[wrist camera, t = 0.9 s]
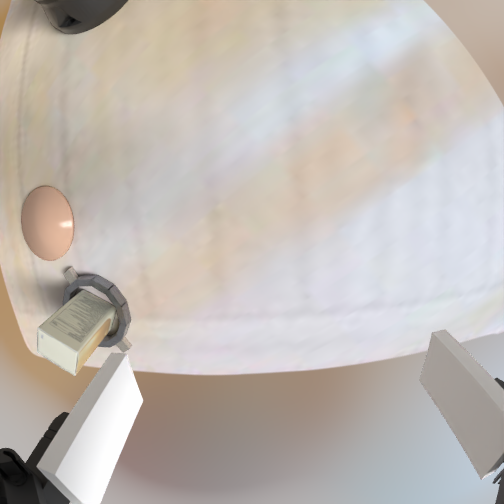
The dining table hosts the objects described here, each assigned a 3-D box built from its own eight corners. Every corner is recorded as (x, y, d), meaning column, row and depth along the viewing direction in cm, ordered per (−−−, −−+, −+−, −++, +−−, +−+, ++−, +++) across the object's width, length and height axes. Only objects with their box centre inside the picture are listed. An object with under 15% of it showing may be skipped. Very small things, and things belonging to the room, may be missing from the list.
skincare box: (78, 310, 38) (34, 351, 27) (83, 287, 37) (35, 325, 26) (113, 330, 39) (75, 378, 27) (119, 307, 38) (77, 353, 26)
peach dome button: (15, 216, 35) (12, 216, 34) (50, 170, 33) (48, 170, 32) (47, 272, 37) (45, 273, 36) (86, 232, 35) (84, 233, 35)
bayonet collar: (52, 286, 37) (45, 291, 36) (90, 249, 36) (84, 253, 34) (107, 359, 41) (103, 365, 39) (152, 333, 39) (148, 339, 37)
